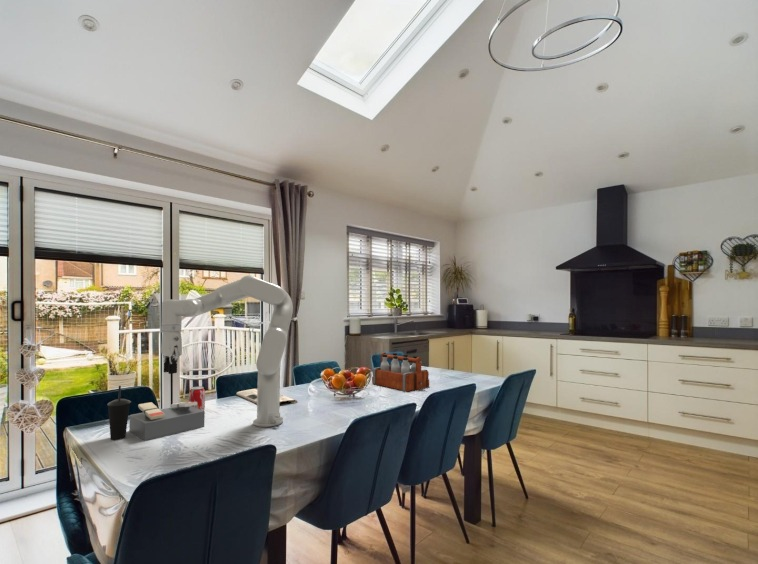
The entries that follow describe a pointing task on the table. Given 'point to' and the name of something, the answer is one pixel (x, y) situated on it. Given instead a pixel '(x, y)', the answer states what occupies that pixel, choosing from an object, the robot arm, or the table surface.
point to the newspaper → (252, 396)
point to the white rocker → (184, 404)
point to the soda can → (197, 397)
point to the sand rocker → (151, 410)
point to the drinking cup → (118, 417)
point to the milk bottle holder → (400, 373)
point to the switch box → (167, 422)
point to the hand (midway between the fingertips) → (170, 372)
